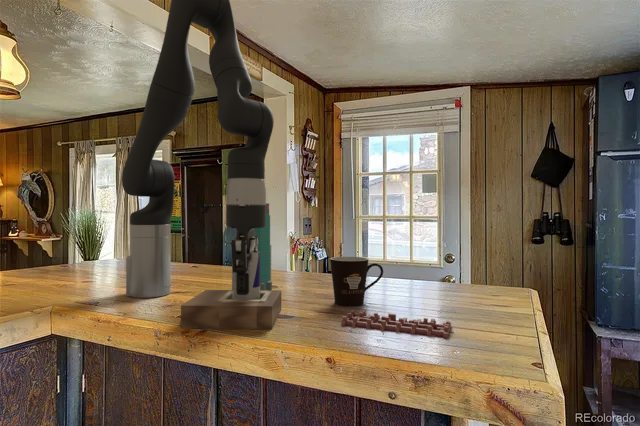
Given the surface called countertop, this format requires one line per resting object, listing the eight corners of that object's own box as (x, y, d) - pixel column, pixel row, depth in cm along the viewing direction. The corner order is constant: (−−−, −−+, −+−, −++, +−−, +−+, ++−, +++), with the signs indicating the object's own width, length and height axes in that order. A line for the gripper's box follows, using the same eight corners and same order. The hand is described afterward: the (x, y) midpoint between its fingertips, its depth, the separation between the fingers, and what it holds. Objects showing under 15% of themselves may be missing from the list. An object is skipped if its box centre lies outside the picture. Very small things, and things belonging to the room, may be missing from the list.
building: (276, 294, 99) (277, 173, 99) (261, 299, 93) (261, 171, 93) (258, 291, 102) (258, 174, 102) (241, 296, 97) (242, 172, 97)
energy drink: (264, 311, 79) (264, 250, 79) (252, 318, 73) (253, 253, 73) (239, 309, 80) (240, 250, 80) (226, 316, 75) (226, 252, 75)
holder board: (181, 328, 70) (181, 303, 70) (205, 308, 84) (205, 288, 84) (271, 329, 70) (272, 304, 69) (281, 309, 84) (281, 288, 83)
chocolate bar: (451, 342, 65) (451, 330, 65) (341, 328, 72) (341, 317, 72) (455, 330, 71) (455, 319, 71) (353, 318, 79) (353, 308, 79)
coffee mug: (326, 306, 86) (326, 260, 86) (334, 298, 95) (334, 256, 95) (380, 309, 84) (380, 262, 84) (383, 300, 92) (383, 257, 92)
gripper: (235, 203, 84) (235, 284, 84) (216, 202, 69) (216, 299, 70) (271, 204, 84) (270, 284, 84) (259, 202, 69) (258, 299, 69)
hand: (245, 290), depth 77 cm, fingers closed on energy drink, 5 cm apart
